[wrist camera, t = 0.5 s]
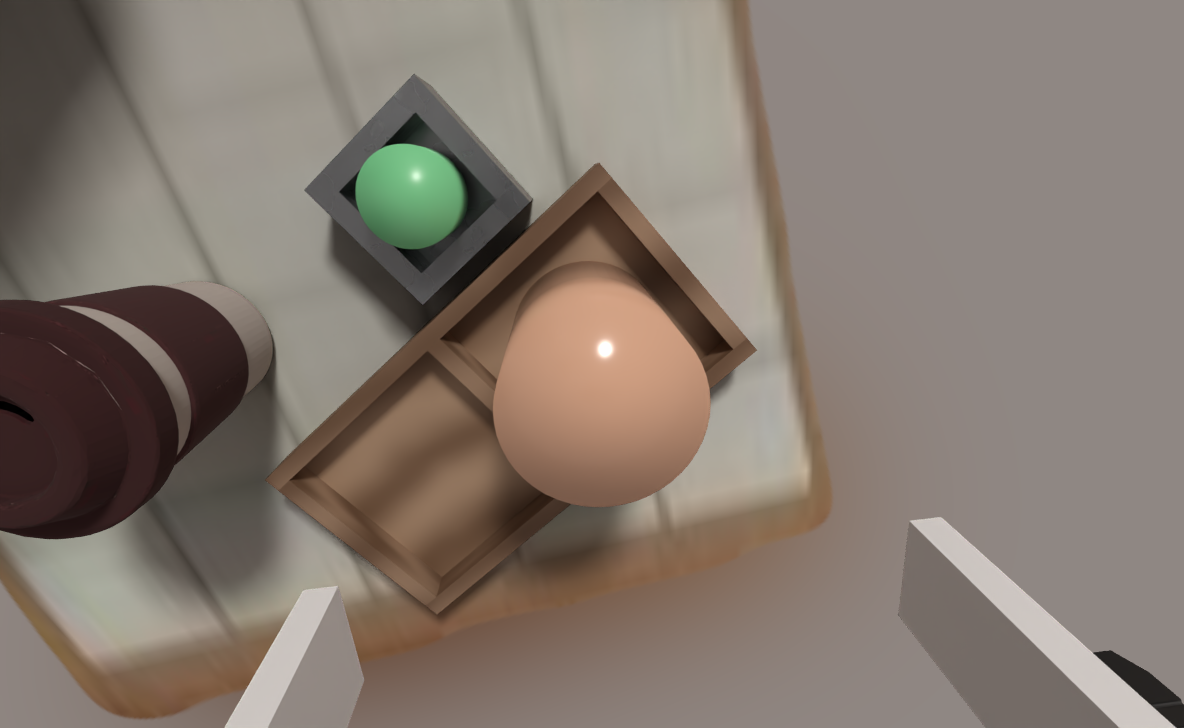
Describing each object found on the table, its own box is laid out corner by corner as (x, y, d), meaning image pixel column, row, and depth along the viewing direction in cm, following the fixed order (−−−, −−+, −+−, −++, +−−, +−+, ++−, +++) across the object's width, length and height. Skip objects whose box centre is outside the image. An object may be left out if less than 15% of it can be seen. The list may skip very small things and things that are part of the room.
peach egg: (481, 331, 35) (446, 407, 23) (593, 228, 33) (612, 256, 22) (582, 430, 37) (594, 543, 26) (690, 338, 36) (753, 416, 24)
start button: (354, 192, 30) (333, 194, 27) (419, 125, 29) (404, 120, 26) (423, 261, 31) (410, 269, 28) (487, 199, 30) (480, 201, 28)
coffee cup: (202, 439, 37) (-16, 604, 23) (89, 307, 34) (-242, 402, 20) (331, 368, 36) (187, 494, 22) (227, 225, 33) (-18, 264, 19)
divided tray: (288, 455, 38) (264, 480, 35) (595, 163, 33) (599, 162, 30) (445, 582, 42) (437, 614, 39) (740, 335, 37) (757, 350, 34)
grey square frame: (332, 188, 33) (304, 190, 29) (431, 85, 32) (413, 73, 28) (437, 290, 35) (422, 304, 31) (532, 198, 34) (529, 202, 30)
